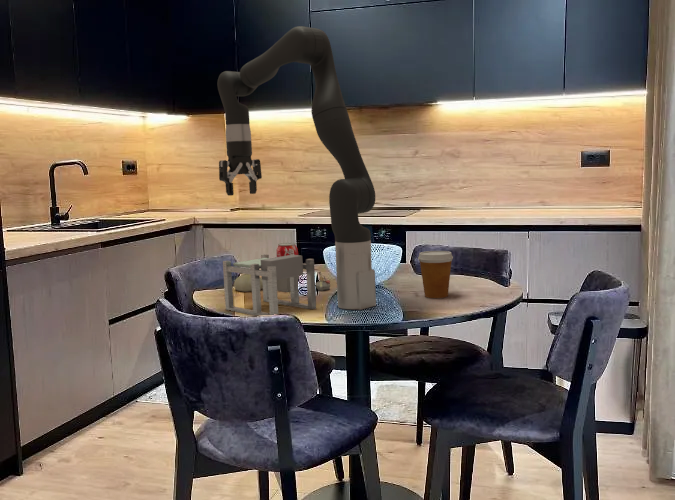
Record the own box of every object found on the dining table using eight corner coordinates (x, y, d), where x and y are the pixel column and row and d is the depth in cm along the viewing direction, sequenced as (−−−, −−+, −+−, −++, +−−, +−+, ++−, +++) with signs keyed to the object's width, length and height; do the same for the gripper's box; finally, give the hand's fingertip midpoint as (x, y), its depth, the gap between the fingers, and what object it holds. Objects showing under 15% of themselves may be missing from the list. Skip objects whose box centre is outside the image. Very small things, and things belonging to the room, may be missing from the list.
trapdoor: (303, 274, 175) (302, 255, 175) (272, 281, 168) (271, 261, 167) (265, 270, 186) (264, 252, 185) (234, 275, 178) (232, 257, 178)
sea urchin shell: (267, 280, 212) (262, 265, 206) (264, 301, 208) (259, 286, 201) (238, 280, 213) (233, 265, 207) (235, 301, 208) (229, 287, 202)
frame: (316, 308, 176) (314, 259, 175) (274, 319, 166) (271, 266, 164) (267, 300, 190) (265, 254, 188) (225, 309, 179) (222, 261, 178)
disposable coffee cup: (440, 301, 179) (439, 256, 178) (411, 297, 186) (410, 253, 184) (460, 295, 186) (460, 251, 184) (432, 291, 192) (431, 249, 191)
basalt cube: (299, 289, 204) (298, 273, 204) (287, 292, 201) (286, 275, 200) (288, 288, 208) (287, 272, 207) (276, 290, 204) (275, 274, 203)
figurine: (317, 287, 205) (316, 268, 204) (331, 287, 205) (331, 268, 203) (314, 293, 200) (313, 274, 199) (328, 293, 200) (328, 274, 198)
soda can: (303, 278, 223) (301, 242, 221) (291, 282, 217) (289, 245, 215) (285, 277, 226) (284, 242, 225) (273, 281, 220) (271, 244, 219)
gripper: (227, 139, 195) (230, 196, 197) (265, 139, 205) (268, 193, 207) (211, 141, 200) (215, 196, 202) (249, 140, 210) (252, 193, 212)
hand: (241, 194), depth 204 cm, fingers open, 8 cm apart
